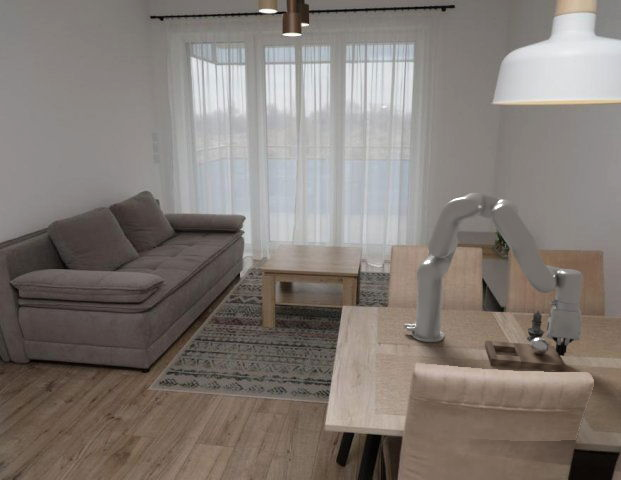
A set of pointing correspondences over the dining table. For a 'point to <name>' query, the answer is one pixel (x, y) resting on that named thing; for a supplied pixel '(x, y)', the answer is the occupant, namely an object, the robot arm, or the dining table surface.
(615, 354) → the dining table surface
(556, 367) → the board
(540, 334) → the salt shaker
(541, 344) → the ball
